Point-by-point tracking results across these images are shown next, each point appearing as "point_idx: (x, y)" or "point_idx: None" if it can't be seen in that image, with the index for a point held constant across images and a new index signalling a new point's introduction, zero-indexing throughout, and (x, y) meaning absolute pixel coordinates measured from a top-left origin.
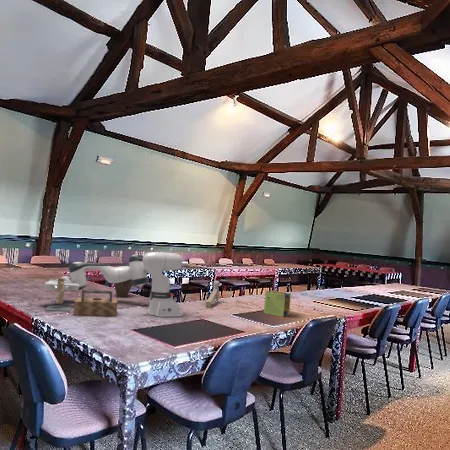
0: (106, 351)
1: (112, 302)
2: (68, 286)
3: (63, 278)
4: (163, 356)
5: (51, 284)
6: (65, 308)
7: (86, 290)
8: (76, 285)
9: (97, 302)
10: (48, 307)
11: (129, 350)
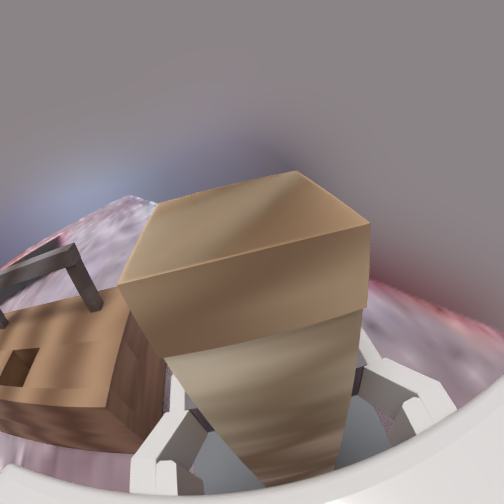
0: (138, 201)
1: (6, 317)
2: (138, 455)
3: (175, 227)
4: (89, 214)
5: (501, 376)
6: (237, 461)
7: (55, 250)
8: (18, 466)
9: (49, 303)
10: (378, 438)
11: (112, 211)
